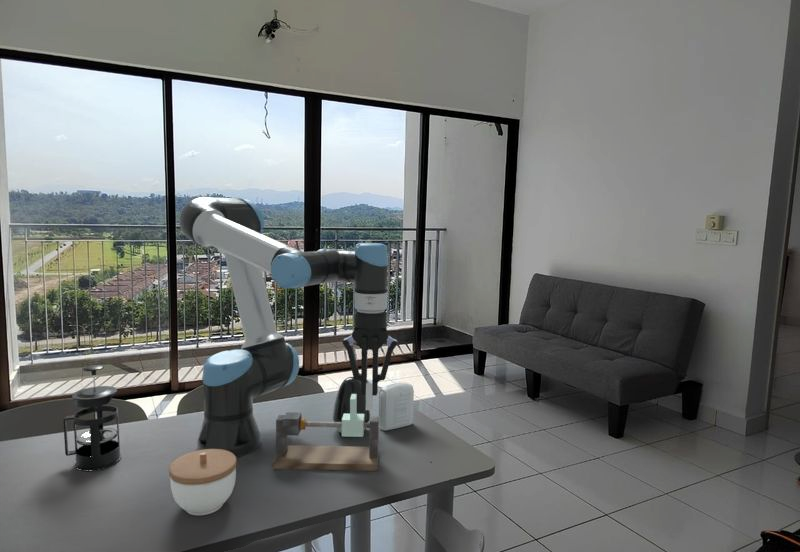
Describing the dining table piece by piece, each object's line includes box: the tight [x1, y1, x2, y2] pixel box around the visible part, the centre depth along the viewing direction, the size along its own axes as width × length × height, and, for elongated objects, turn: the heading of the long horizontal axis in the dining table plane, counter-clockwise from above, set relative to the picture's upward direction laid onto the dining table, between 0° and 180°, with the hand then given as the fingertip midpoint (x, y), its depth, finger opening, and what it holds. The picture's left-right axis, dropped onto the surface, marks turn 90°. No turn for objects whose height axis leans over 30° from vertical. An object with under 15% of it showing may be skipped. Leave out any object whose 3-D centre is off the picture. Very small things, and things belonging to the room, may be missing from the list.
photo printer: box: [378, 381, 415, 432], centre depth 144 cm, size 10×4×12 cm, turn 123°
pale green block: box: [341, 394, 365, 438], centre depth 123 cm, size 5×4×9 cm
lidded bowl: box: [168, 449, 237, 517], centre depth 104 cm, size 13×13×11 cm
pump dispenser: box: [332, 376, 371, 434], centre depth 140 cm, size 10×10×15 cm
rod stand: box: [272, 411, 380, 472], centre depth 124 cm, size 24×9×11 cm, turn 90°
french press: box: [62, 364, 122, 472], centre depth 120 cm, size 12×9×23 cm
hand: (369, 407), depth 123 cm, fingers closed
